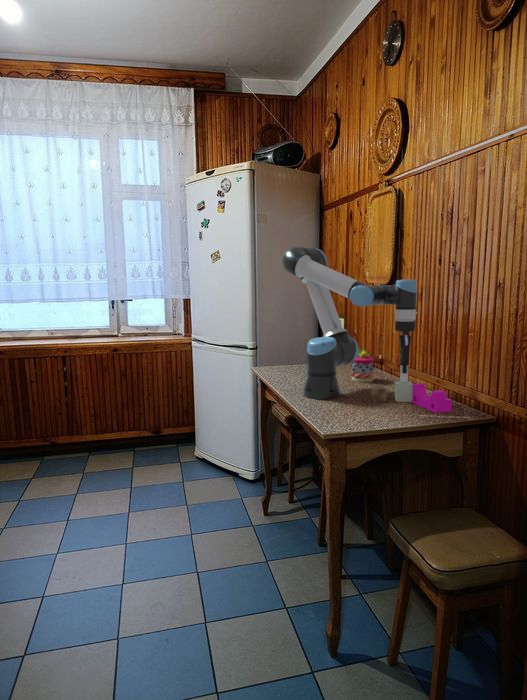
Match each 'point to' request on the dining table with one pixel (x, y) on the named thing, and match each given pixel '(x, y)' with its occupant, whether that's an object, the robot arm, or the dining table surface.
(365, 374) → the cake
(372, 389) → the walnut block
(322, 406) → the dining table surface
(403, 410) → the dining table surface
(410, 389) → the sage block
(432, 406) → the toy block
